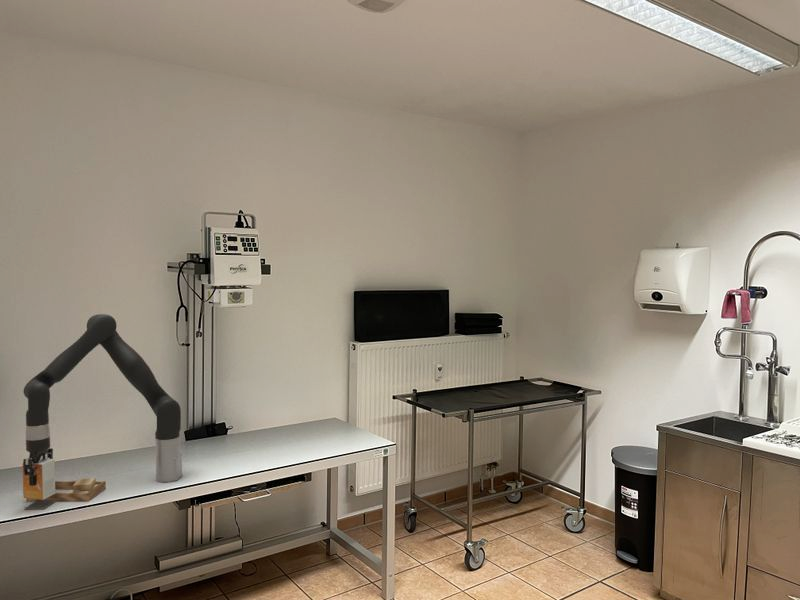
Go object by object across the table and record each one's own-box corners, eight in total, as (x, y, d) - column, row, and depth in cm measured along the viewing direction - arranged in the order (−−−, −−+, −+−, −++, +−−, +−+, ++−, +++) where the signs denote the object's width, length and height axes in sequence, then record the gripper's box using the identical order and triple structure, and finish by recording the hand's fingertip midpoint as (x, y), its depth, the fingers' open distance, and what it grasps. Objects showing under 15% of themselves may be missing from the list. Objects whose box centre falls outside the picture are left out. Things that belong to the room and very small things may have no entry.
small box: (23, 498, 216) (21, 462, 215) (36, 492, 222) (35, 457, 221) (43, 500, 215) (42, 464, 214) (56, 493, 221) (55, 458, 220)
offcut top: (95, 484, 233) (95, 478, 233) (90, 490, 226) (90, 484, 226) (79, 485, 232) (78, 479, 232) (73, 492, 225) (72, 485, 225)
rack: (105, 488, 235) (105, 473, 235) (88, 501, 222) (87, 485, 222) (47, 488, 236) (46, 473, 235) (26, 501, 223) (25, 485, 222)
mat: (55, 502, 222) (55, 500, 222) (43, 509, 215) (43, 508, 215) (36, 501, 222) (36, 500, 222) (24, 509, 215) (24, 508, 215)
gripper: (36, 442, 210) (37, 489, 211) (59, 431, 224) (60, 475, 225) (14, 442, 210) (16, 489, 211) (39, 431, 224) (40, 474, 225)
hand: (39, 481), depth 218 cm, fingers closed on small box, 6 cm apart
